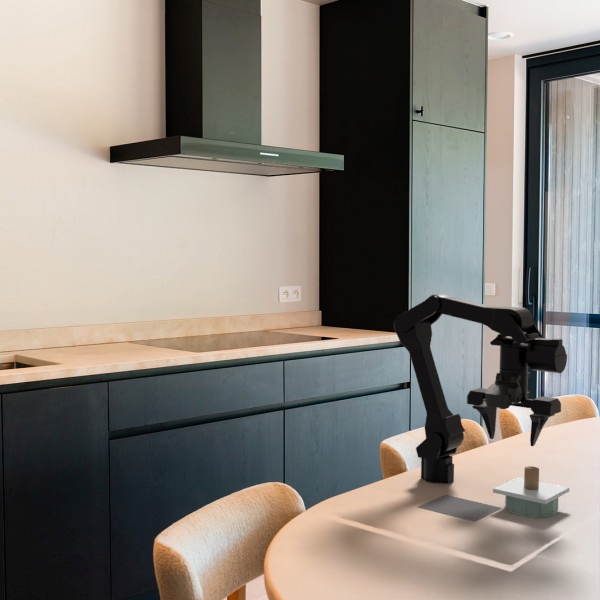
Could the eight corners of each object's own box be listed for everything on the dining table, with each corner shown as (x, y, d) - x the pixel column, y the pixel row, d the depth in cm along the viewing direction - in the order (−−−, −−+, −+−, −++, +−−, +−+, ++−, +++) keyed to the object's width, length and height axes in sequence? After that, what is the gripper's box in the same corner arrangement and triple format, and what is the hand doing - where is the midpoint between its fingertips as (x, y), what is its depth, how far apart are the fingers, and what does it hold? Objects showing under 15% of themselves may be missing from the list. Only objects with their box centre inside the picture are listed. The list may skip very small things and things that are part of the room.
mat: (417, 509, 165) (417, 506, 165) (445, 497, 173) (445, 494, 173) (474, 524, 156) (475, 521, 156) (502, 510, 165) (502, 507, 164)
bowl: (496, 512, 164) (496, 492, 163) (519, 500, 171) (519, 481, 171) (544, 523, 157) (544, 503, 157) (565, 511, 165) (566, 491, 164)
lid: (492, 492, 163) (493, 468, 163) (518, 480, 172) (518, 458, 171) (545, 504, 156) (546, 479, 156) (569, 491, 164) (569, 467, 164)
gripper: (454, 367, 171) (452, 441, 172) (539, 377, 159) (537, 457, 160) (480, 362, 179) (479, 432, 180) (563, 371, 167) (561, 447, 168)
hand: (511, 442), depth 172 cm, fingers open, 9 cm apart
